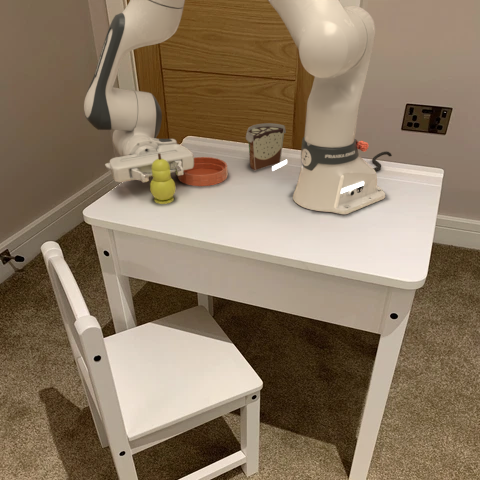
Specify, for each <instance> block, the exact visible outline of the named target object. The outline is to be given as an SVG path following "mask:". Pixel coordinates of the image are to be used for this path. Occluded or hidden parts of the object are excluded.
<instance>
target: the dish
mask: <svg viewBox="0 0 480 480" xmlns="http://www.w3.org/2000/svg"><path fill="white" fill-rule="evenodd" d="M228 171H229V169H228V164H227V162H226V161H224V159H223V160H222V159H221V158H218V157H212V156H196V157H195V156H194V167H193V168H192V169H188V170H183V173H184V174H183V175H180V176H177V180H178V181H179V182H180V183H182V184H184V185H189V186H194V187H210V186H214V185H218V184H220V183H223V182H225V181H226V180H227V179H228V175H229V173H228Z"/></svg>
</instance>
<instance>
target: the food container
mask: <svg viewBox="0 0 480 480" xmlns="http://www.w3.org/2000/svg"><path fill="white" fill-rule="evenodd" d="M286 133H287V131H286V125H283V124H280V123H272V122H271V123H267V122H265V123H257V124H252V125H251V126H249V127H248V128H247V130H246V134H245V140H246V141H247V142H248V143H247V144H248V154H249V156H248V157H249V165H250V166H249V167H250V169H252V170H253V171H255V172H256V171H258V170H261V169H264V168H268V167H273V166H275V165H277V164H279V163H280V162H282V160H281V159H282V153H283V144H284V137H285V136H284V135H285V134H286Z"/></svg>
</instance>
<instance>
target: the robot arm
mask: <svg viewBox="0 0 480 480" xmlns="http://www.w3.org/2000/svg"><path fill="white" fill-rule="evenodd" d="M267 1H268V2H269V4H270V5H271V6H272V8H273V9H274V10H275V12H276V13H277V15H278V16H279V18H280V19H281V20H282V22H283V24H284V25H285V27H286V29H287V31H288V33H289V35H290V37H291V39H292V41H293V42H294V44H295V46H296V48H297V50H298V55H299V59H300V63H301V65H302V67H303V68H304V70H305V71H306V72H307V73H308V74H309V75H312V77H314V79H313V82H312V86H311V90H310V93H309V96H308V98H307V101H306V113H305V127H304V136H303V137H302V139H301V148H300V149H301V150H300V164H301V165H300V170H299V175H298V178H297V179H298V180H297V183H296V185H295V188H294V189H295V190H294V192H293V194H292V200H293V201H294V202H295V204H297V205H298V206H300V207H302V208H304V209H307V210H311V211H316V212H325V213H326V212H327V213H334V214H338V215H348V214H351V213H354V212H356V211H358V210H361V209H362V208H366V207H368V206H369V205H373V204H374V203H377V202H381V201H382V200H384V199H385V198H386V193H385V191H384V190H383V189H382V188H381V187H380V186H379V185H378V175H377V171H379V170H380V169H382V164H381V163H380V162H379V161H378V158H379V157H383V156H385V155H387V156H388V157H392V156H393V154H392V153H391V152H390V151H387V150H386V151H382V152H380V153H377V154H376V155H374V156H373V157H372V160H371V161H372V163H373V164H374V165H376V167H373V166H372V165H371V164H369V163H368V162H367V161H366V160H365V159H363V158H362V157H361V156H360V154H359V151H361V152H364V153H365V152H367V151H368V149H369V147H370V146H369V145H370V144H369V142H366V141H364V140H359V141H358V139H356V138H355V137H356V131H357V125H358V116H359V108H360V104H361V99H362V95H363V93H364V92H363V91H364V88H365V84H366V79H367V75H368V71H369V68H370V67H369V66H370V62H371V57H372V53H373V49H374V43H375V39H376V36H377V35H376V33H377V29H376V28H377V27H376V23H375V20H374V18H373V17H372V15H371V14H370V13H369V12H368V11H367V10H365V9H364V8H362V7H360V6H357V5H345V6H344V5H343V4H342V2H341V1H340V0H267ZM185 2H186V0H129V1H128V4H127V6H126V7H125V8H124V9H123V11H122V12H120V13H117V14H115V15H114V16H113V18H112V20H111V23H110V25H109V27H108V29H107V32H106V36H105V39H104V42H103V45H102V47H101V52H100V55H99V58H98V61H97V64H96V67H95V70H94V74H93V77H92V80H91V82H90V84H89V87H88V89H87V91H86V94H85V97H84V101H83V111H84V117H85V119H86V121H88V123H89V124H91V126H93V127H94V128H95V129H96V130H98V131H111V130H113V133H112V144H113V147H114V149H115V151H116V153H117V155H118V156H116V157H112V158H111V159H110V160H109V161H108V162H107V163H105V164H104V167H105V169H106V170H107V171H110V172H111V177H112V180H114V182H116V183H124V182H130V181H139V182H140V181H141V182H142V183H148V182H150V179H149V178H151V177H152V163H153V162H154V161H155V160H156V159H158V154H159V153H160V154H161V159H165V160H166V161H167V162H168V163H169V165H170V174H172V173H174V174H175V175H176V176H177V177H178V176H180V175H183V174H184V173H183V170H188V169H192V168H193V167H194V158H195V156H194V153H193V151H191V150H190V149H189V148H187V147H186V146H184V145H182V144H179V143H178V142H177V140H176V139H175V138H157V137H158V135H159V134H160V131H161V128H162V119H163V114H162V109H161V106H160V104H159V101H158V100H157V98H156V97H155V96H154V94H153V93H151V92H148V91H142V90H136V89H135V90H134V89H125V88H120V87H114V85H115V83H116V79H117V76H118V73H119V70H120V67H121V64H122V61H123V59H124V58H125V56H126V55H128V53H130V52H132V51H134V50H137V49H139V48H142V47H143V48H144V47H147V46H152V45H153V46H154V45H157V44H161V43H163V42H165V41H167V40H169V39H170V38H171V37H172V36H173V35H175V34H176V32H177V30H178V29H179V27H180V24H181V19H182V16H183V13H184V7H185ZM287 164H288V159H285V160H283V161H282V160H281V161H280V163H279V164H276V165H273V166H271V171H272V172H274V171H276V170H278V169H280V168H282V167H284V166H285V165H287Z"/></svg>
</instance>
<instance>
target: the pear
mask: <svg viewBox="0 0 480 480" xmlns="http://www.w3.org/2000/svg"><path fill="white" fill-rule="evenodd" d="M151 177H152V179H151V181H150V183H149V190H150V193H151V195H152V197H153V201H154V203H156V204H160V205H167V204H170V203H173V202H174V195H175V193H176V189H177V186H176V182H175V180H174V179H173V178H172V173H170V165H169V163H168V162H167V161H166V160H165V159H161V154H160V153H159V154H158V159H156V160H155V161H154V162H153V163H152V176H151Z"/></svg>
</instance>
